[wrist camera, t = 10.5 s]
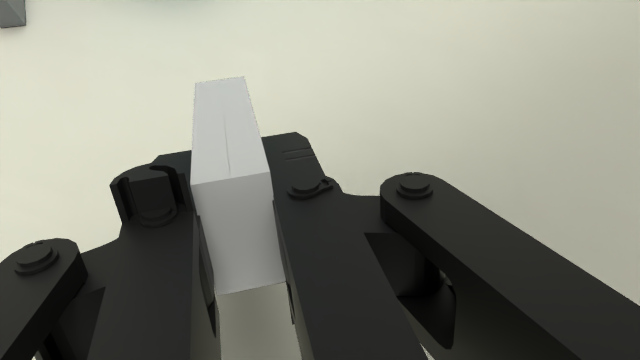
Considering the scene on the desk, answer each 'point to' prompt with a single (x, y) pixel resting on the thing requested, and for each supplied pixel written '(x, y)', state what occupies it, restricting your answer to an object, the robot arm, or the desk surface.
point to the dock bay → (12, 13)
